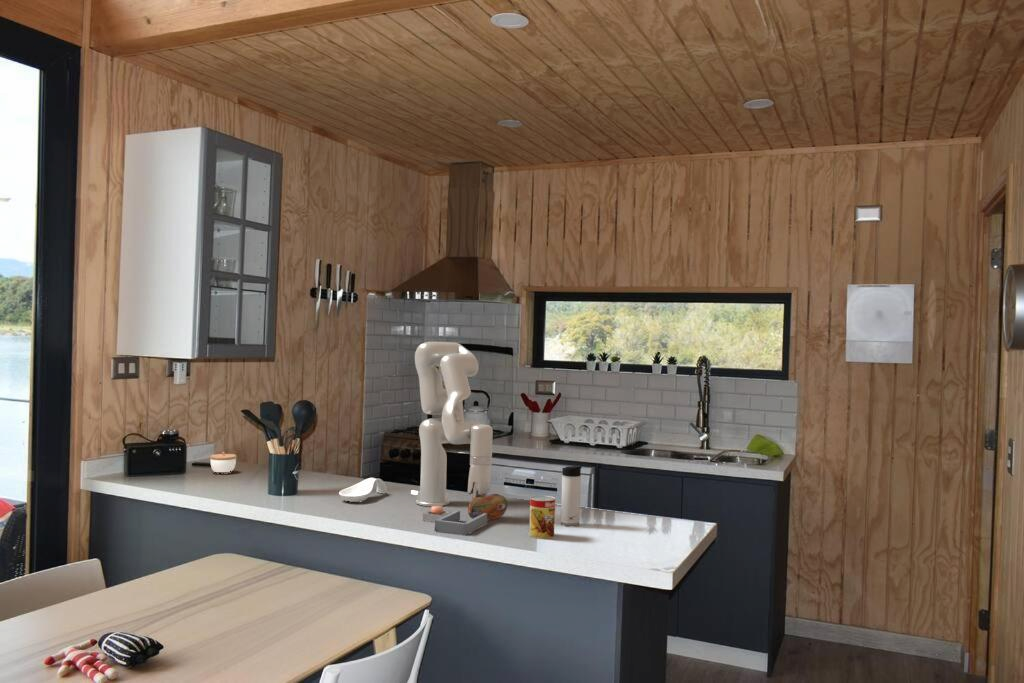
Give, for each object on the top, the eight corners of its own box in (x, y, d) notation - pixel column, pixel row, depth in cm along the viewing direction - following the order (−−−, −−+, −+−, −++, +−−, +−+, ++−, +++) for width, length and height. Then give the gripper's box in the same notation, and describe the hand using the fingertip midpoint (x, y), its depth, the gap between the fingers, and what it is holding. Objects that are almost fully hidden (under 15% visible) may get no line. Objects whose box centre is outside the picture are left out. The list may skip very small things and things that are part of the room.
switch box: (422, 520, 272) (422, 513, 272) (431, 516, 278) (432, 509, 278) (441, 523, 269) (441, 515, 269) (450, 518, 276) (450, 511, 276)
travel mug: (574, 527, 268) (576, 467, 268) (557, 525, 271) (559, 465, 271) (583, 524, 273) (585, 465, 273) (566, 521, 277) (567, 463, 277)
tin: (470, 522, 271) (473, 499, 269) (464, 519, 273) (468, 495, 272) (505, 517, 280) (509, 494, 279) (500, 514, 282) (504, 491, 281)
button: (428, 514, 273) (429, 507, 273) (434, 512, 276) (434, 505, 276) (439, 516, 271) (439, 508, 271) (444, 513, 275) (444, 506, 275)
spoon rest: (358, 506, 293) (359, 486, 293) (332, 502, 298) (332, 483, 298) (394, 495, 315) (394, 477, 315) (369, 492, 320) (369, 474, 320)
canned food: (552, 539, 251) (553, 501, 251) (527, 537, 253) (528, 499, 253) (555, 533, 259) (556, 496, 259) (531, 532, 260) (532, 494, 260)
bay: (434, 531, 257) (434, 520, 257) (456, 520, 274) (456, 510, 274) (466, 535, 254) (466, 524, 254) (486, 524, 270) (487, 513, 270)
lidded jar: (230, 470, 360) (230, 449, 360) (239, 474, 351) (240, 452, 351) (206, 472, 353) (206, 451, 353) (215, 476, 344) (215, 454, 344)
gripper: (478, 457, 286) (477, 509, 286) (462, 462, 272) (460, 517, 272) (498, 458, 284) (497, 511, 284) (483, 464, 270) (481, 519, 270)
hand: (479, 514), depth 278 cm, fingers closed
